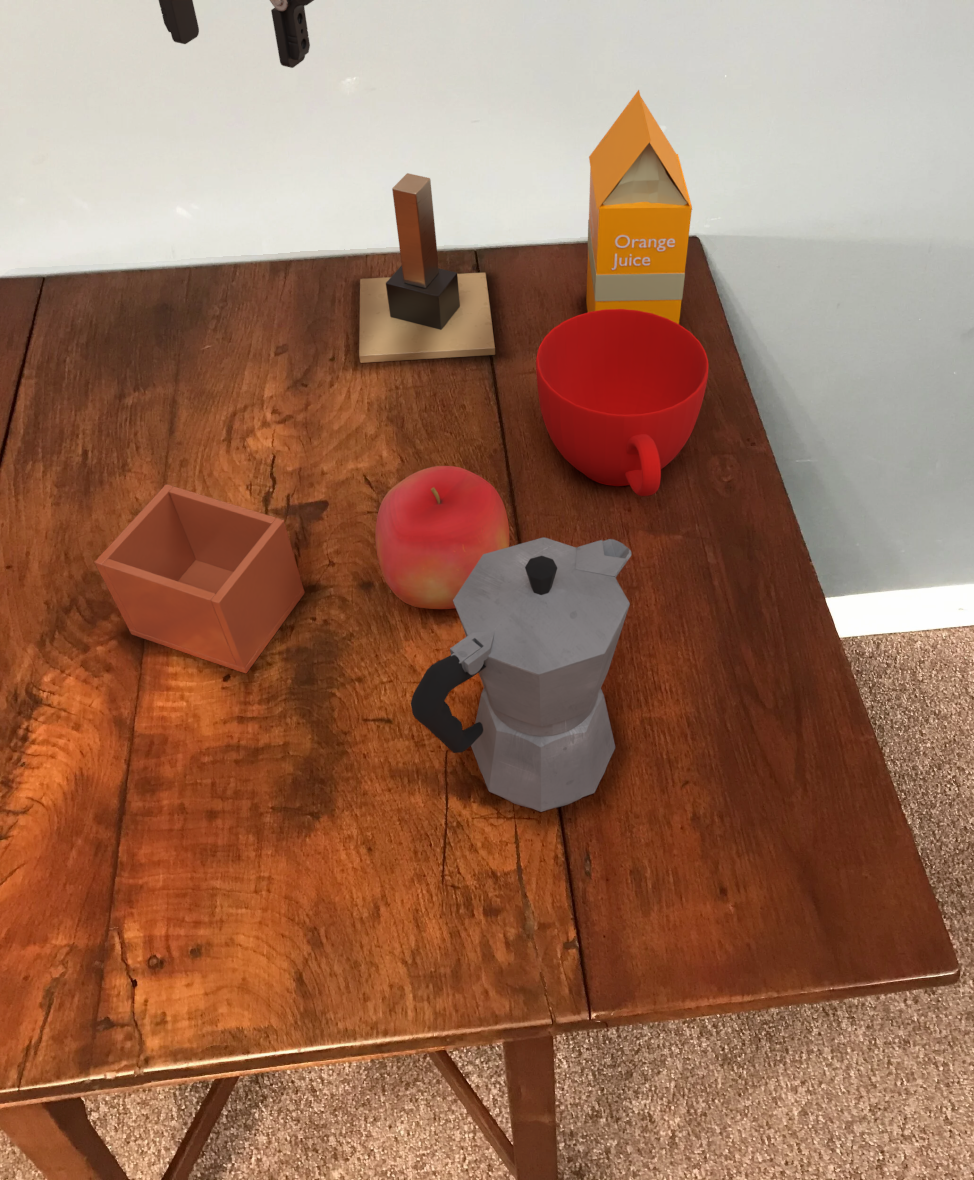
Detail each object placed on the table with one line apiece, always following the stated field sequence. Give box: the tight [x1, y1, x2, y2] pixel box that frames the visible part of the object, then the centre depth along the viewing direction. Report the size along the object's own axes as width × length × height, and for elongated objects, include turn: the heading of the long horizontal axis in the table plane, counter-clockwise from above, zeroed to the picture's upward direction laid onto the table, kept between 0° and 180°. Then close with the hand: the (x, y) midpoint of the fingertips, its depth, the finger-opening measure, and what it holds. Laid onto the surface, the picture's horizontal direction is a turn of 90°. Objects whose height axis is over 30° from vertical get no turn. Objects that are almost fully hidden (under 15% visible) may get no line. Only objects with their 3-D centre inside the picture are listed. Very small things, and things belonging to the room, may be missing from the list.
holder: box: [94, 483, 306, 674], centre depth 70 cm, size 9×8×8 cm
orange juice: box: [585, 89, 693, 325], centre depth 88 cm, size 8×9×20 cm
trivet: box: [358, 272, 496, 364], centre depth 95 cm, size 12×12×1 cm
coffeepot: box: [410, 536, 632, 813], centre depth 59 cm, size 15×9×18 cm, turn 135°
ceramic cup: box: [535, 309, 709, 497], centre depth 79 cm, size 13×17×10 cm
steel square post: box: [386, 172, 460, 330], centre depth 90 cm, size 5×4×13 cm
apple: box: [374, 465, 511, 610], centre depth 71 cm, size 10×10×10 cm
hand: (239, 51), depth 72 cm, fingers open, 8 cm apart
